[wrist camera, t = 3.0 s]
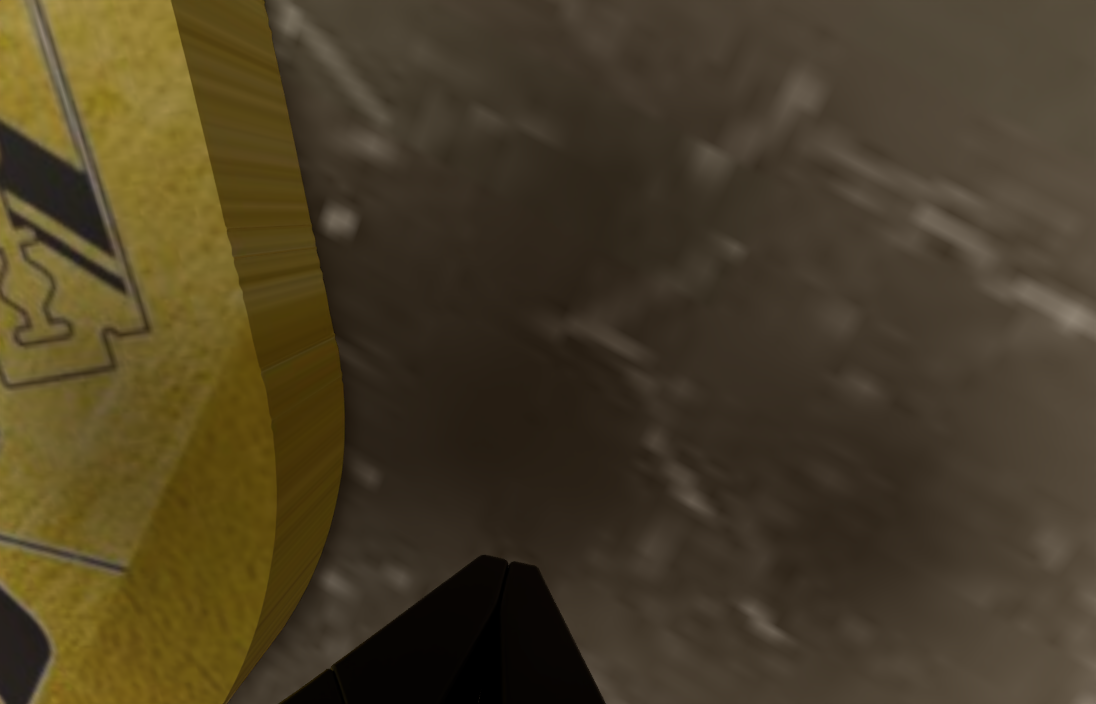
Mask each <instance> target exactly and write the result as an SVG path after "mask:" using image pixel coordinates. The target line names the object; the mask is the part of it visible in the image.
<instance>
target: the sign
mask: <svg viewBox="0 0 1096 704" xmlns="http://www.w3.org/2000/svg"><path fill="white" fill-rule="evenodd" d="M264 4H265V1H264V0H0V704H227V703H228V701H229V700H230V699H231V697H232V696H233V695H234V693H235V692H236V691H237V689H238V688H239V686H240V685H241V684H242V682H243V681H244V680H245V678H246V677H247V676H248V674H249V673H250V672H251V670H252V669H253V668H254V666H255V665H256V664H257V662H258V661H259V660H260V658H261V657H262V656H263V654H264V653H265V652H266V650H267V649H268V648H269V646H270V645H271V644H272V642H273V641H274V640H275V638H276V637H277V636H278V634H279V633H280V632H281V630H282V629H283V627H284V626H285V625H286V622H287V621H288V619H289V618H290V616H291V615H292V613H293V611H294V610H295V608H296V606H297V604H298V603H299V601H300V599H301V597H302V595H303V593H304V592H305V590H306V588H307V586H308V584H309V581H310V579H311V577H312V575H313V573H314V570H315V568H316V566H317V563H318V561H319V558H320V556H321V553H322V550H323V548H324V545H325V542H326V539H327V536H328V532H329V529H330V526H331V522H332V518H333V514H334V510H335V506H336V501H337V496H338V491H339V486H340V480H341V474H342V466H343V456H344V439H345V409H344V391H343V382H342V372H341V367H340V357H339V350H338V346H337V343H336V340H335V333H334V330H333V326H332V321H331V316H330V311H329V306H328V300H327V295H326V289H325V285H324V282H323V273H322V271H321V269H320V261H319V258H318V255H317V251H316V250H317V247H316V246H315V237H314V234H313V231H312V224H311V221H310V216H309V211H308V206H307V201H306V196H305V191H304V186H303V182H302V177H301V172H300V167H299V162H298V158H297V153H296V148H295V143H294V138H293V134H292V129H291V124H290V119H289V114H288V109H287V105H286V100H285V95H284V91H283V86H282V82H281V77H280V73H279V68H278V63H277V59H276V55H275V51H274V46H273V42H272V31H271V30H270V28H269V25H268V21H269V19H268V15H267V13H266V10H265V6H264Z"/></svg>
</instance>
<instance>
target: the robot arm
mask: <svg viewBox="0 0 1096 704" xmlns="http://www.w3.org/2000/svg"><path fill="white" fill-rule="evenodd" d="M480 692H481V693H480ZM479 697H480V698H479ZM478 701H479V702H478ZM279 704H606V703H605V701H604V699H603V697H602V695H601V693H600V691H599V689H598V687H597V685H596V683H595V681H594V679H593V677H592V675H591V673H590V671H589V669H588V667H587V665H586V663H585V661H584V659H583V657H582V655H581V653H580V651H579V649H578V647H577V645H576V643H575V641H574V639H573V637H572V635H571V633H570V631H569V629H568V627H567V625H566V623H565V621H564V619H563V617H562V615H561V613H560V611H559V609H558V607H557V605H556V603H555V601H554V599H553V597H552V595H551V593H550V591H549V589H548V587H547V585H546V583H545V581H544V579H543V577H542V575H541V573H540V571H539V569H538V568H537V567H536V566H534V565H529V564H524V563H520V562H515V561H514V562H511V563H510V564H509V566H508V561H507V560H505V559H502V558H498V557H493V556H489V555H481V556H479V557H478V558H476V559H475V560H474V561H472V562H471V563H470V564H468V565H467V566H465V567H464V568H463V569H461V570H460V571H459V572H457V573H456V574H455V575H453V576H452V577H451V578H449V579H448V580H447V581H445V582H444V583H443V584H441V585H440V586H439V587H437V588H436V589H434V590H433V591H432V592H430V593H429V594H428V595H426V596H425V597H424V598H422V599H421V600H420V601H418V602H417V603H416V604H414V605H413V606H412V607H410V608H409V609H408V610H406V611H405V612H403V613H402V614H401V615H399V616H398V617H397V618H395V619H394V620H393V621H391V622H390V623H389V624H387V625H386V626H385V627H383V628H382V629H381V630H379V631H378V632H377V633H375V634H374V635H372V636H371V637H370V638H368V639H367V640H366V641H364V642H363V643H362V644H360V645H359V646H358V647H356V648H355V649H354V650H352V651H351V652H350V653H348V654H347V655H346V656H344V657H343V658H341V659H340V660H339V661H337V662H336V663H335V664H333V665H332V666H331V669H326V670H325V671H324V672H322V673H321V674H319V675H318V676H317V677H315V678H314V679H313V680H311V681H310V682H309V683H307V684H306V685H305V686H303V687H302V688H300V689H299V690H297V691H296V692H295V693H293V694H292V695H290V696H289V697H287V698H286V699H285V700H283V701H282V702H280V703H279Z"/></svg>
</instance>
